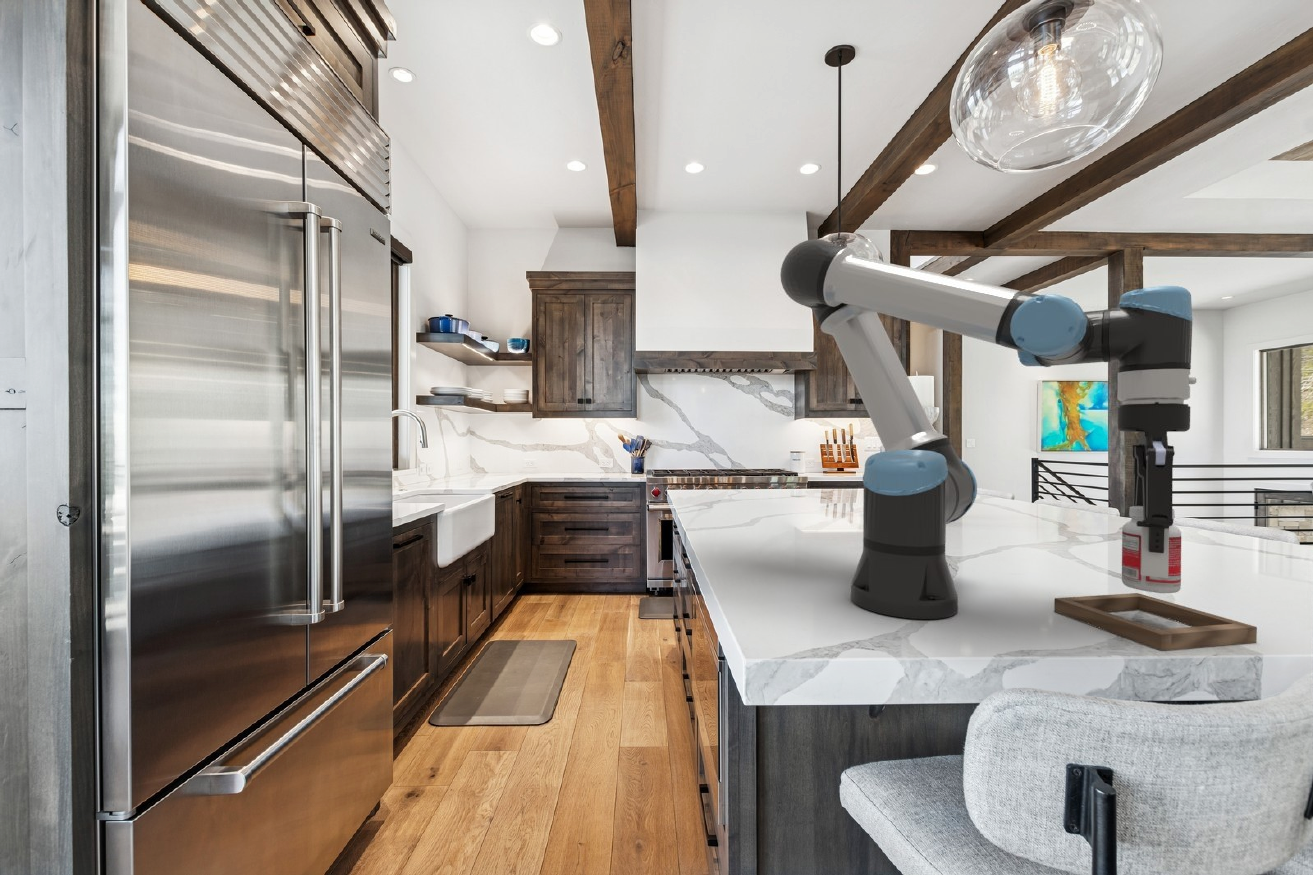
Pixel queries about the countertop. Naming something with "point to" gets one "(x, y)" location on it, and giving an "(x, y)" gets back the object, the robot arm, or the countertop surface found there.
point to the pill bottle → (1133, 557)
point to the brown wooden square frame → (1202, 634)
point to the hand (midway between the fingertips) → (1150, 570)
